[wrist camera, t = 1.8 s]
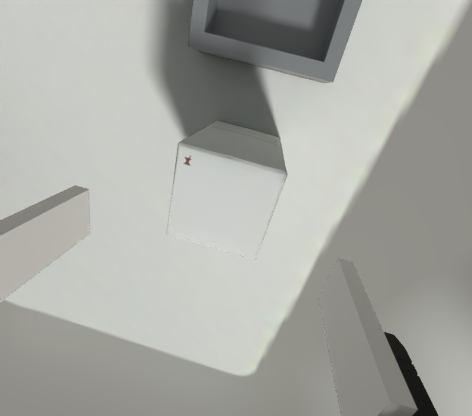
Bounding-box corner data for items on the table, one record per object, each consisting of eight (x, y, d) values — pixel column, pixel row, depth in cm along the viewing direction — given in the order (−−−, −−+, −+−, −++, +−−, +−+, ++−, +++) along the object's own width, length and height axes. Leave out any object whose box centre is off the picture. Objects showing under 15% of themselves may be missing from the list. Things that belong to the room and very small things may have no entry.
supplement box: (203, 181, 31) (161, 235, 19) (216, 118, 28) (175, 138, 16) (262, 199, 31) (256, 263, 19) (283, 137, 28) (289, 171, 16)
